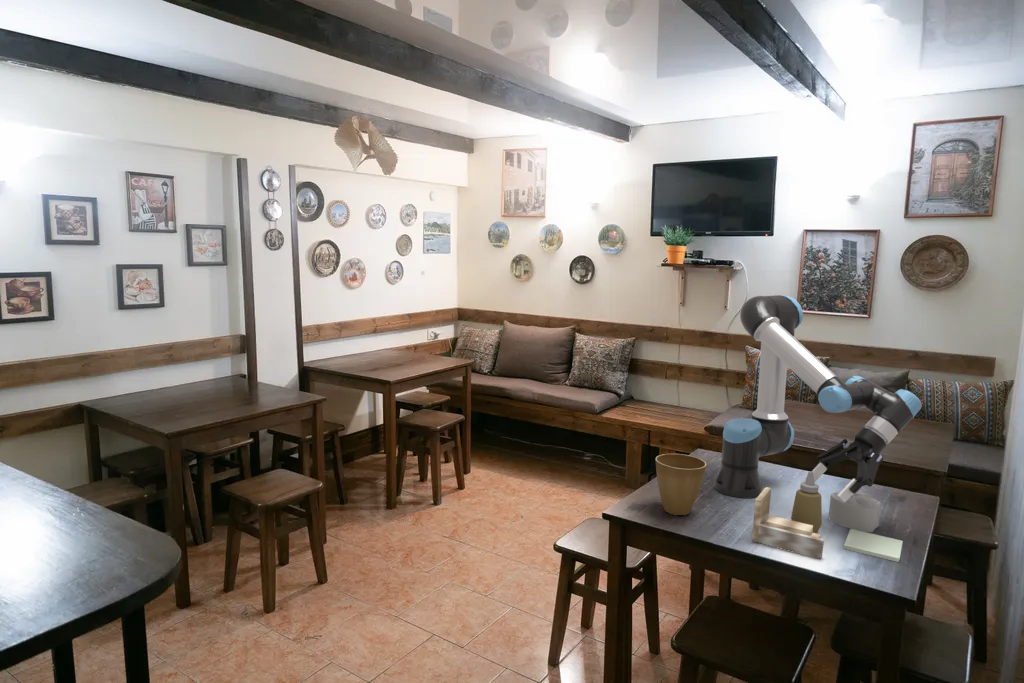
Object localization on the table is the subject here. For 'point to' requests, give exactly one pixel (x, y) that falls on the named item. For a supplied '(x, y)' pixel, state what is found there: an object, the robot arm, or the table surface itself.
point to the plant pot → (679, 481)
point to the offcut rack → (784, 530)
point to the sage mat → (873, 545)
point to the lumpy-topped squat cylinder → (855, 512)
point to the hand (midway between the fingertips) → (824, 490)
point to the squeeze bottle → (808, 504)
